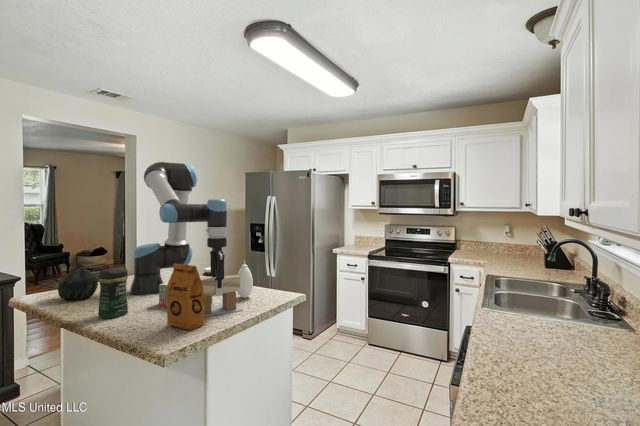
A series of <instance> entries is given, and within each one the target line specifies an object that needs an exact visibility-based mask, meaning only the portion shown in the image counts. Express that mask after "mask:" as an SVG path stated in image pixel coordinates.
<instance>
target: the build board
mask: <svg viewBox="0 0 640 426" xmlns="http://www.w3.org/2000/svg"><path fill="white" fill-rule="evenodd" d="M221 297H222V303H221V304H222V305H219V306H218V305H217V306H212V304H211V296H205V297H204V302H205V310H204V318H205V317H211V316H218V315H219V316H220V315H224V314H225V315H226V314H230V313H237V312H242V311H243V309H242V308H241V307H240V306H238V304H237V291H235V292H229V293H223V296H221Z"/></svg>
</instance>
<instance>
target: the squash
mask: <svg viewBox="0 0 640 426" xmlns="http://www.w3.org/2000/svg"><path fill="white" fill-rule="evenodd" d="M57 286H58V287H57V292H58V293H57V294H58V296H59V297H60V298H61V299H63V300H64V301H65V300H73V299H74V300H78V299H79V300H86V299H88V298H91V297H92V296H93V295H94V294H95V293H96V290H97V288H98V287H99V279H98V277H97V276H96V275H95V274H94V273H93V272H91V271H90V270H89V269H87V268H85V267H79V268H77V269H74V270H72V271H69V272H67V273H66V274H64V276H62V278H61V279H60V280H59V283H58V285H57Z"/></svg>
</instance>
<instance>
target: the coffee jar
mask: <svg viewBox="0 0 640 426" xmlns="http://www.w3.org/2000/svg"><path fill="white" fill-rule="evenodd" d="M128 272H129V271H128V269H127V267H121V266H116V267H110V268H107V269H101V270H100V271H99V273H98V284H99V286H100V287H99V302H98V303H99V305H98V312H97V313H98V314H97V316H98V317H99V318H101V319H104V320H106V319H114V318H118V317H120V316H123V315H125V314H127V313H128V312H129V307H128V295H127V281H128V277H129V275H128Z"/></svg>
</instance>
